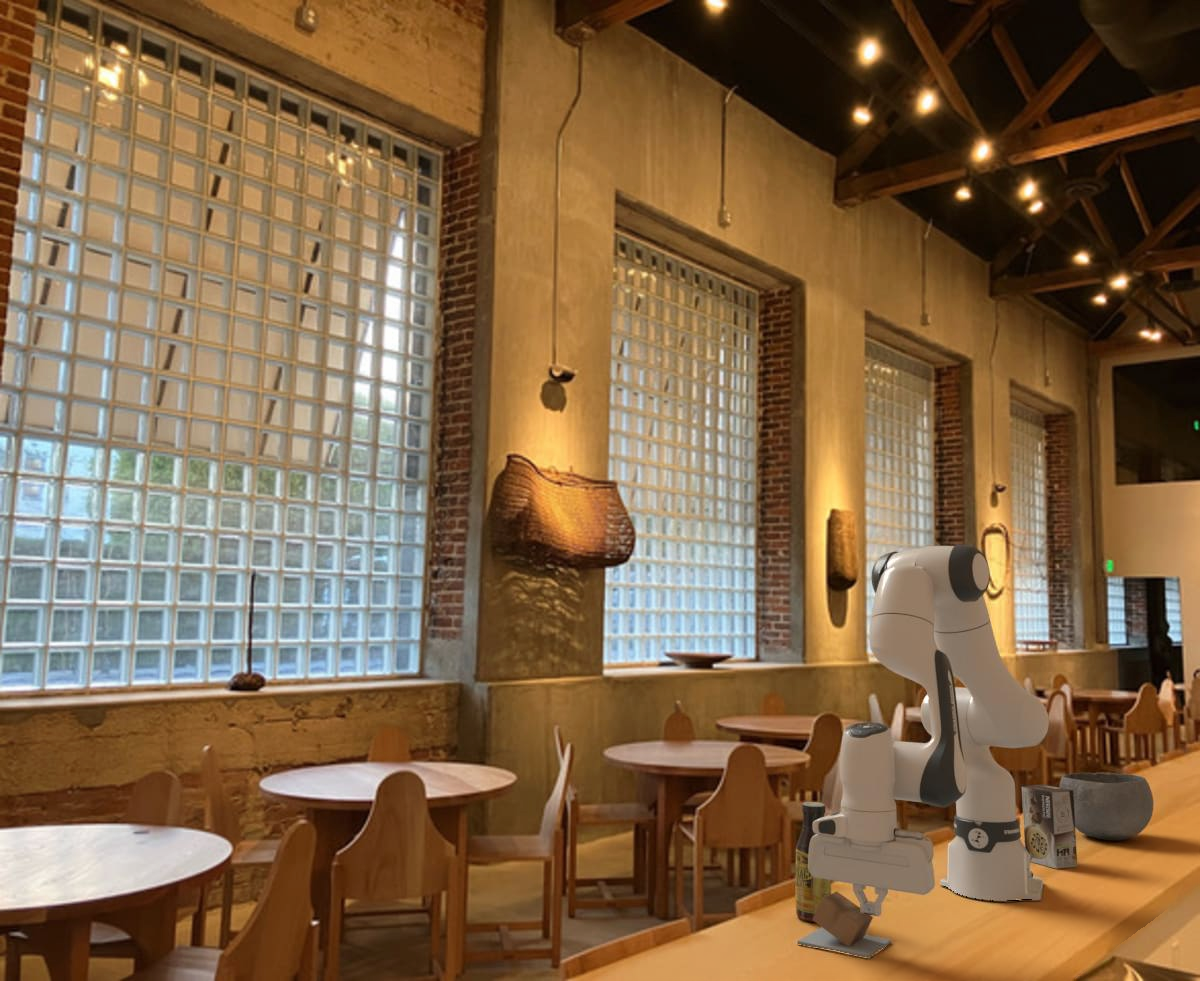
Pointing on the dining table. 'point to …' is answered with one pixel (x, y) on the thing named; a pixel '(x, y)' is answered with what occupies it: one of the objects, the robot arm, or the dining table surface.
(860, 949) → the mat
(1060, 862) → the coffee box
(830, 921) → the walnut block
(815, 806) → the sauce bottle
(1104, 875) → the dining table surface
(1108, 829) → the bowl
